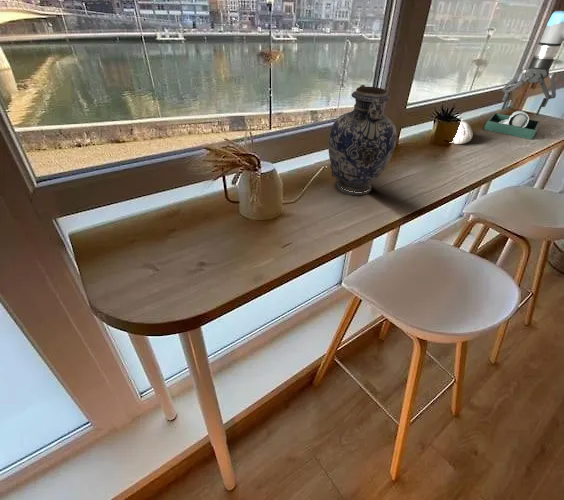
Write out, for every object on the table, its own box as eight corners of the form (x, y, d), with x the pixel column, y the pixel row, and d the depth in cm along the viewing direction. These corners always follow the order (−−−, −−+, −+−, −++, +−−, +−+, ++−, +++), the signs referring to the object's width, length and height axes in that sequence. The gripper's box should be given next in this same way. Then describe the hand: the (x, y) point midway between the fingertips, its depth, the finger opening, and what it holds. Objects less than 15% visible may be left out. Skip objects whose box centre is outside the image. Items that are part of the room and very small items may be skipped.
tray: (536, 129, 153) (540, 121, 150) (532, 139, 141) (536, 130, 139) (490, 120, 162) (494, 112, 159) (483, 129, 150) (487, 120, 148)
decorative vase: (319, 171, 109) (330, 79, 91) (374, 173, 109) (395, 81, 92) (327, 204, 92) (342, 99, 75) (391, 205, 93) (421, 101, 75)
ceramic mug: (523, 127, 152) (531, 109, 147) (524, 131, 146) (532, 114, 142) (497, 123, 156) (504, 106, 151) (497, 128, 150) (505, 110, 146)
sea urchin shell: (473, 139, 139) (481, 120, 134) (465, 148, 130) (474, 128, 125) (441, 132, 145) (448, 113, 140) (432, 140, 136) (439, 120, 131)
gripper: (508, 55, 137) (487, 108, 150) (580, 62, 125) (551, 118, 138) (511, 53, 141) (490, 105, 154) (581, 59, 130) (552, 114, 143)
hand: (519, 111), depth 146 cm, fingers open, 13 cm apart
